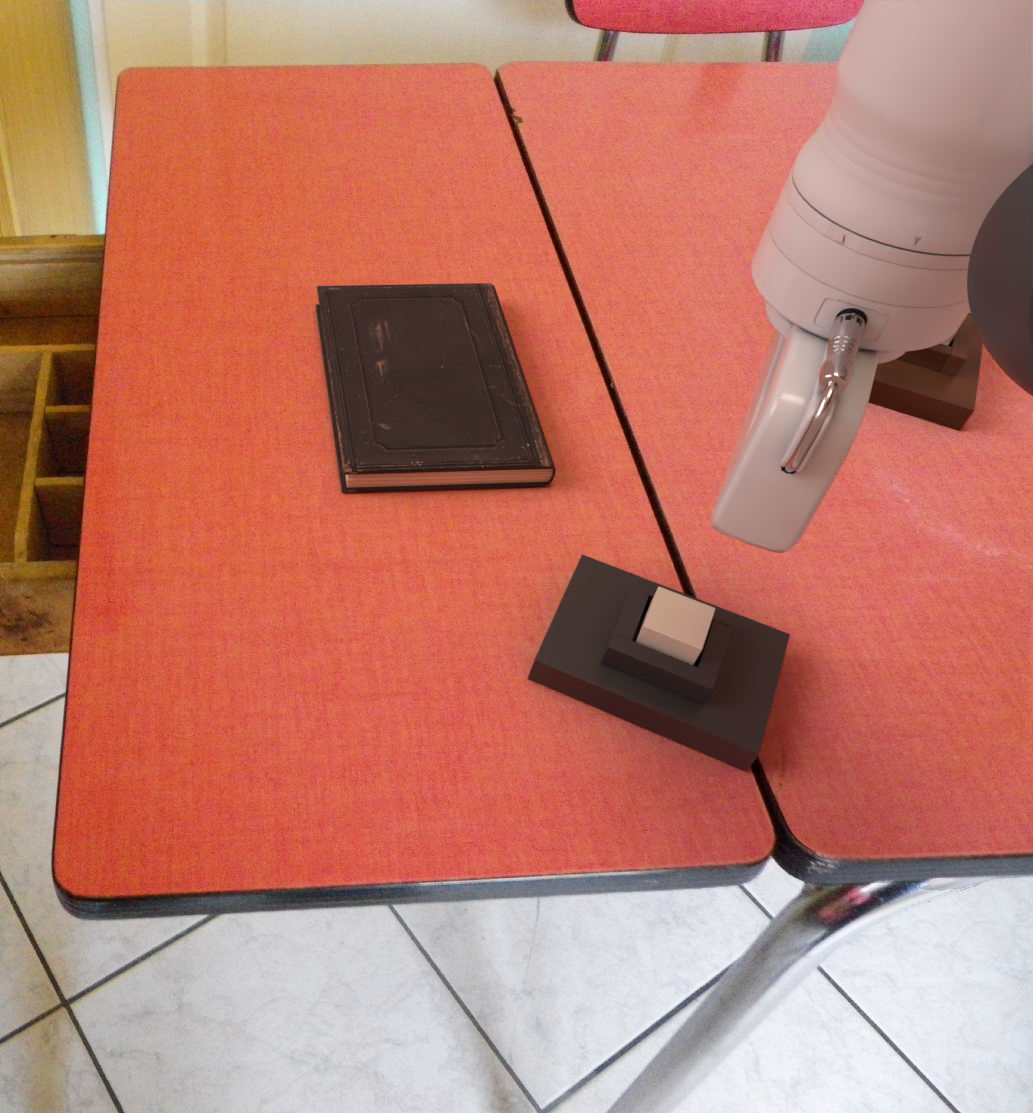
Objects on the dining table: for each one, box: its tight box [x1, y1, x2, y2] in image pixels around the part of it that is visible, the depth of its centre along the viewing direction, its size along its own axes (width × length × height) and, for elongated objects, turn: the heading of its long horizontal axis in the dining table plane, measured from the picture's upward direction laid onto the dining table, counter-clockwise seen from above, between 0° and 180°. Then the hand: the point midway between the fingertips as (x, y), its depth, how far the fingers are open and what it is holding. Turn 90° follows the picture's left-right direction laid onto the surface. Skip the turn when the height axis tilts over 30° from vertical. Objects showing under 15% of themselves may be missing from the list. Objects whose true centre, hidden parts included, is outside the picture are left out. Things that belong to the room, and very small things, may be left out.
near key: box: [636, 587, 715, 665], centre depth 63 cm, size 4×4×2 cm
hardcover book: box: [315, 282, 557, 494], centre depth 83 cm, size 16×23×2 cm
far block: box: [868, 312, 984, 431], centre depth 87 cm, size 14×10×4 cm
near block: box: [527, 554, 791, 772], centre depth 65 cm, size 14×10×4 cm
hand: (749, 484), depth 54 cm, fingers closed
